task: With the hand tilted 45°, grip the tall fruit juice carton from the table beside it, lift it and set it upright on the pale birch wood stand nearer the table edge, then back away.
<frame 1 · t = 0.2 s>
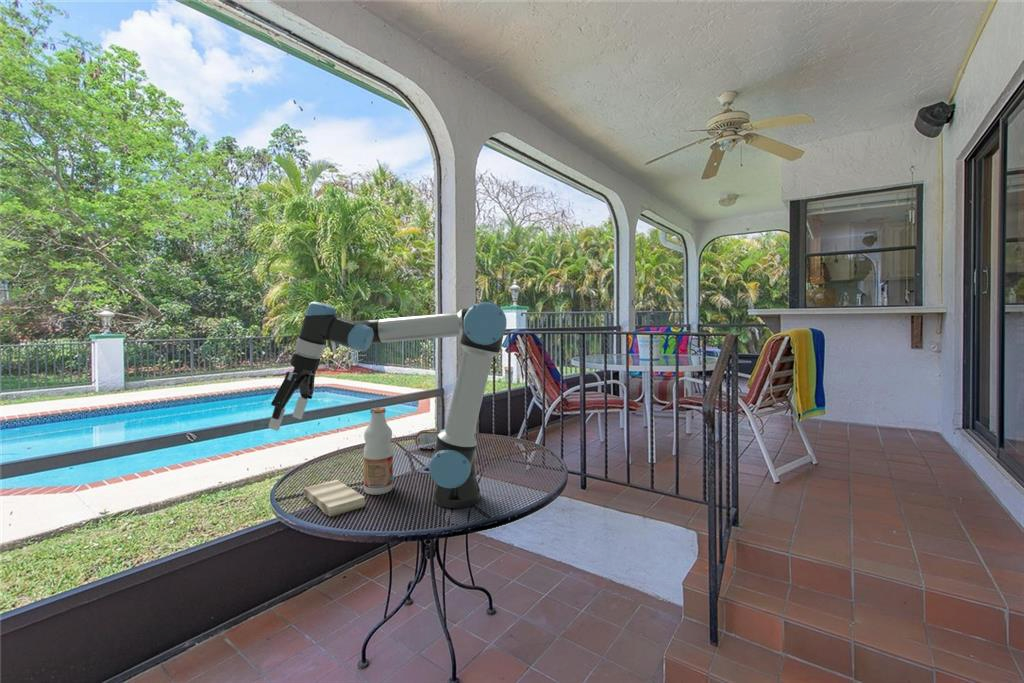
hand: (285, 423, 130), 28 cm above the table, tool tilted 20°, fingers open, 13 cm apart
birch stand: (333, 501, 142), on the table
tin: (432, 449, 199), on the table
fruit juice: (378, 490, 152), on the table
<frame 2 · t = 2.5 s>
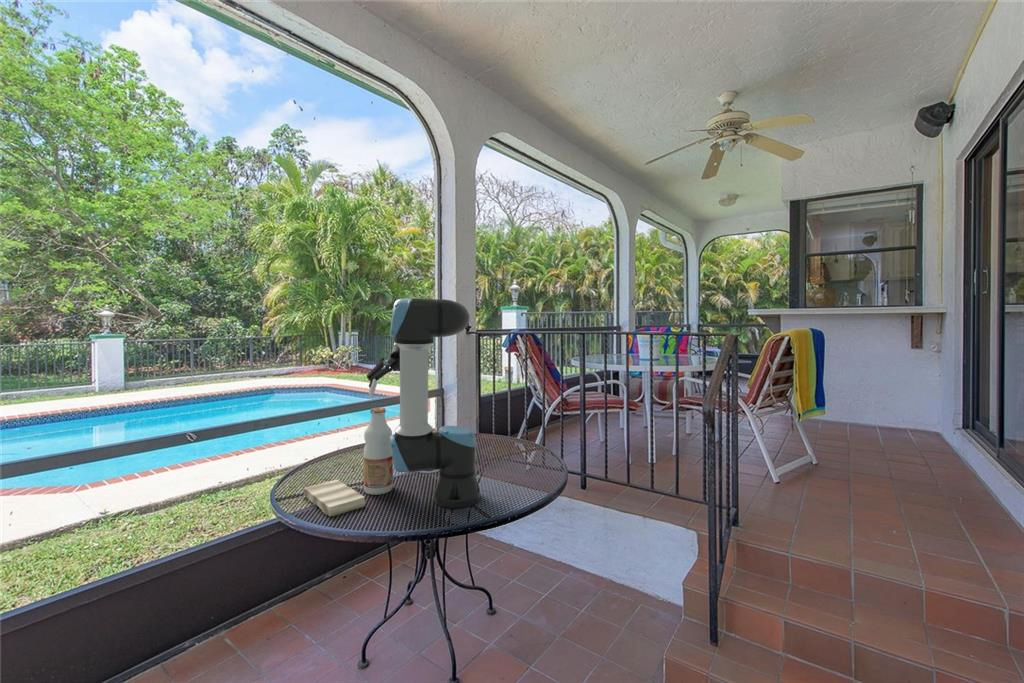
hand: (388, 396, 162), 30 cm above the table, tool tilted 45°, fingers open, 13 cm apart
nothing on the table moved.
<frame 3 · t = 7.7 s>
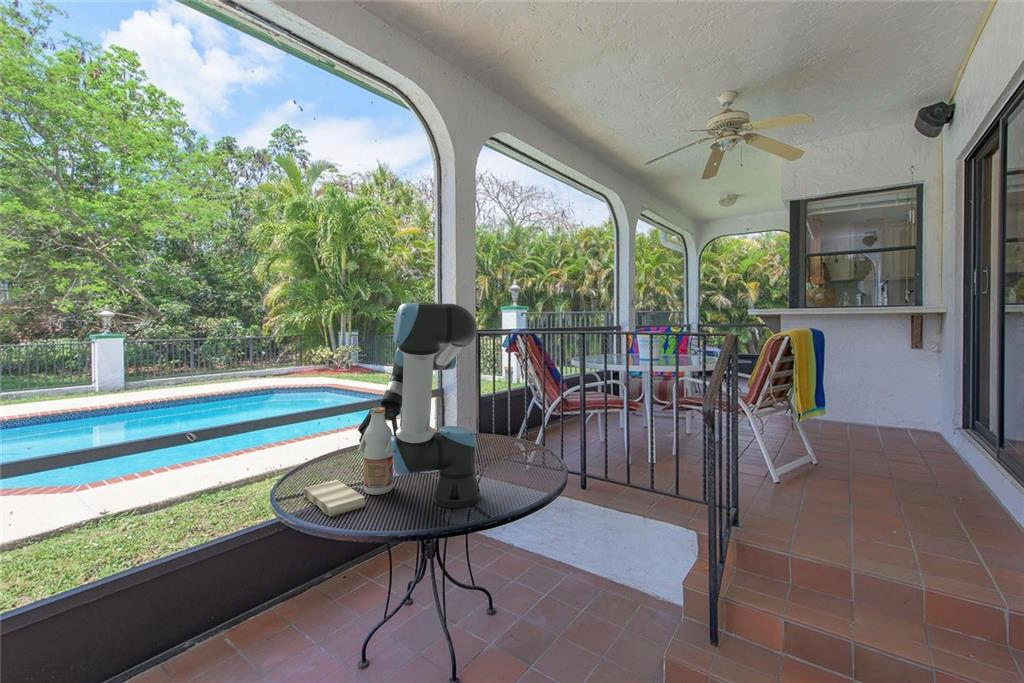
hand: (373, 452, 148), 14 cm above the table, tool tilted 45°, fingers closed on fruit juice, 9 cm apart
fruit juice: (378, 490, 152), on the table, touching gripper
everything else where it was.
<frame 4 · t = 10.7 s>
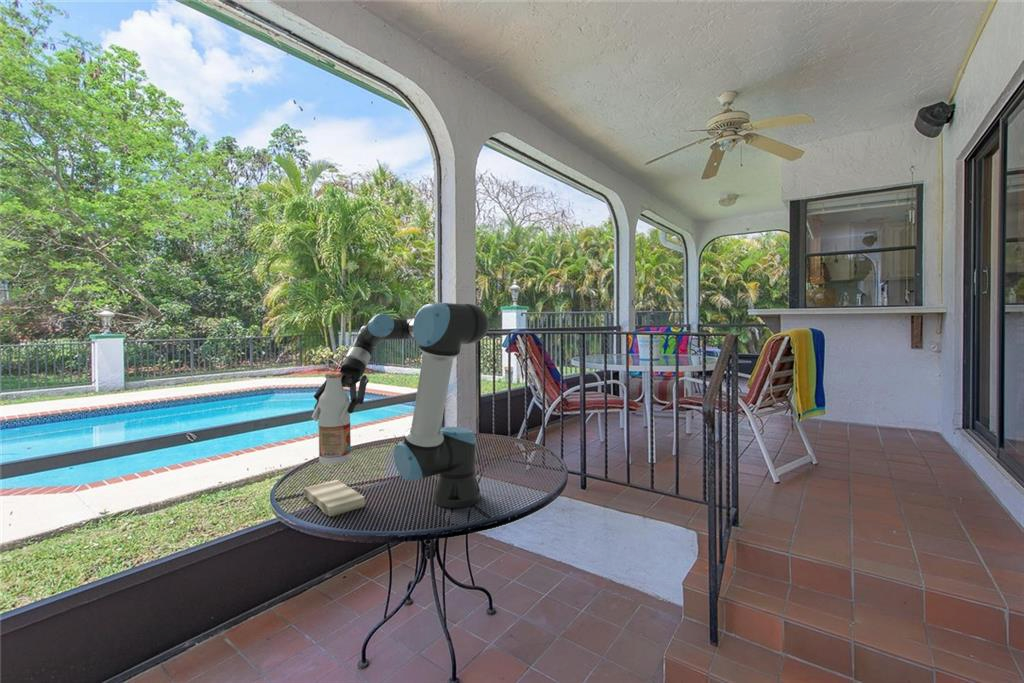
hand: (328, 420, 139), 27 cm above the table, tool tilted 45°, fingers closed on fruit juice, 9 cm apart
fruit juice: (335, 461, 143), point 13 cm above the table, touching gripper
everything else where it was.
when the fingers open (18 cm above the table, at t = 13.7 s): fruit juice drops 1 cm, resting on birch stand.
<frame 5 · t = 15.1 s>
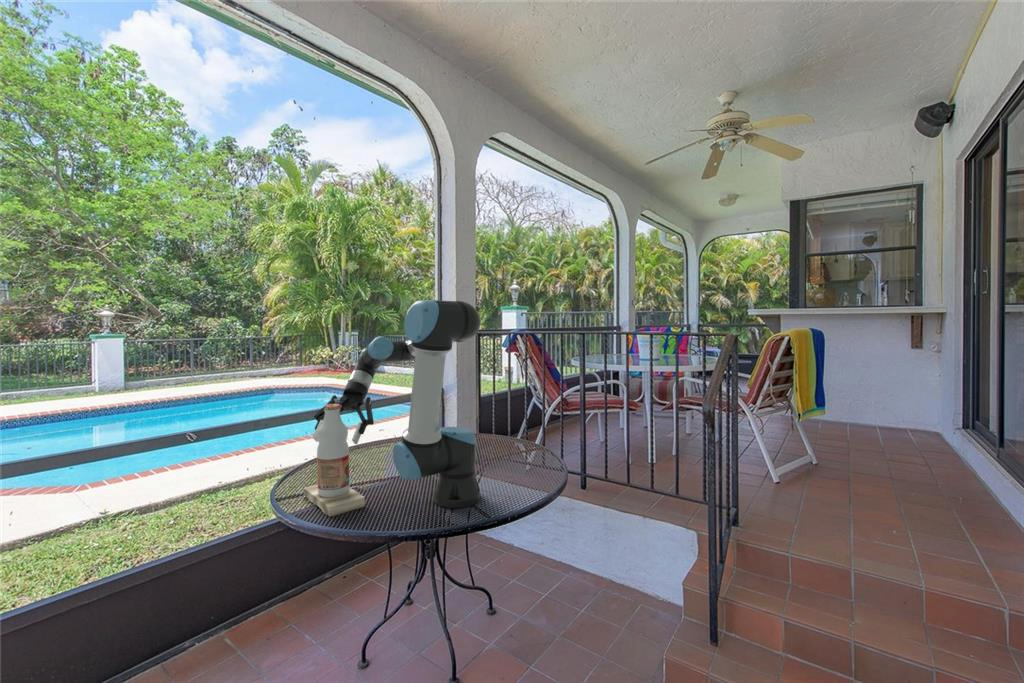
hand: (334, 441, 143), 19 cm above the table, tool tilted 45°, fingers open, 13 cm apart
fruit juice: (333, 492, 142), point 3 cm above the table, touching birch stand
everything else where it was.
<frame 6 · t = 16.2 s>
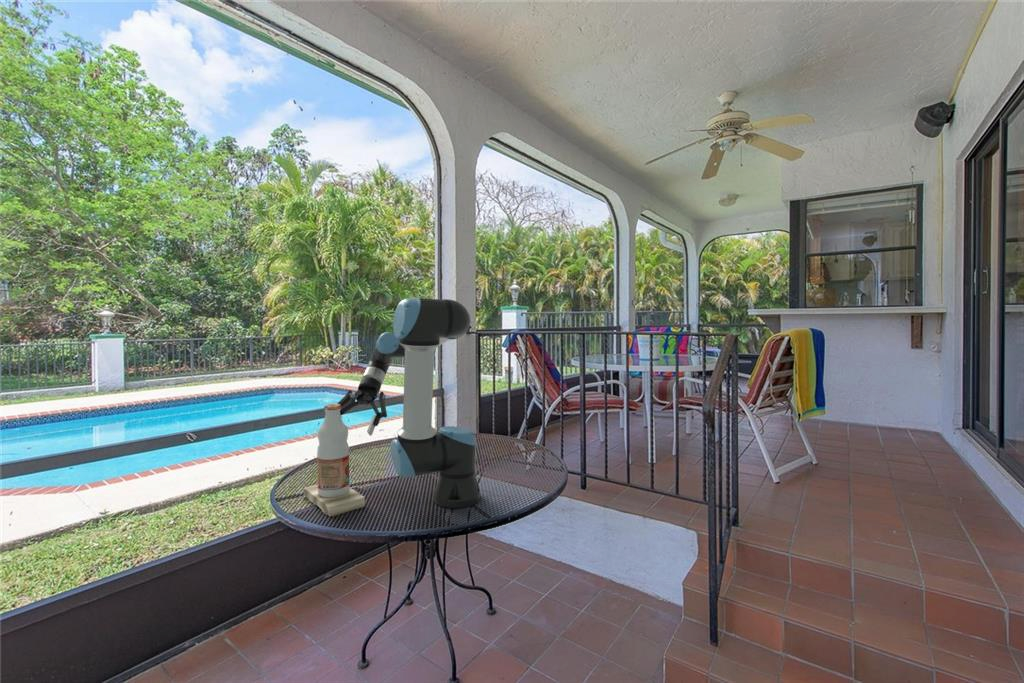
hand: (350, 432, 151), 20 cm above the table, tool tilted 45°, fingers open, 13 cm apart
nothing on the table moved.
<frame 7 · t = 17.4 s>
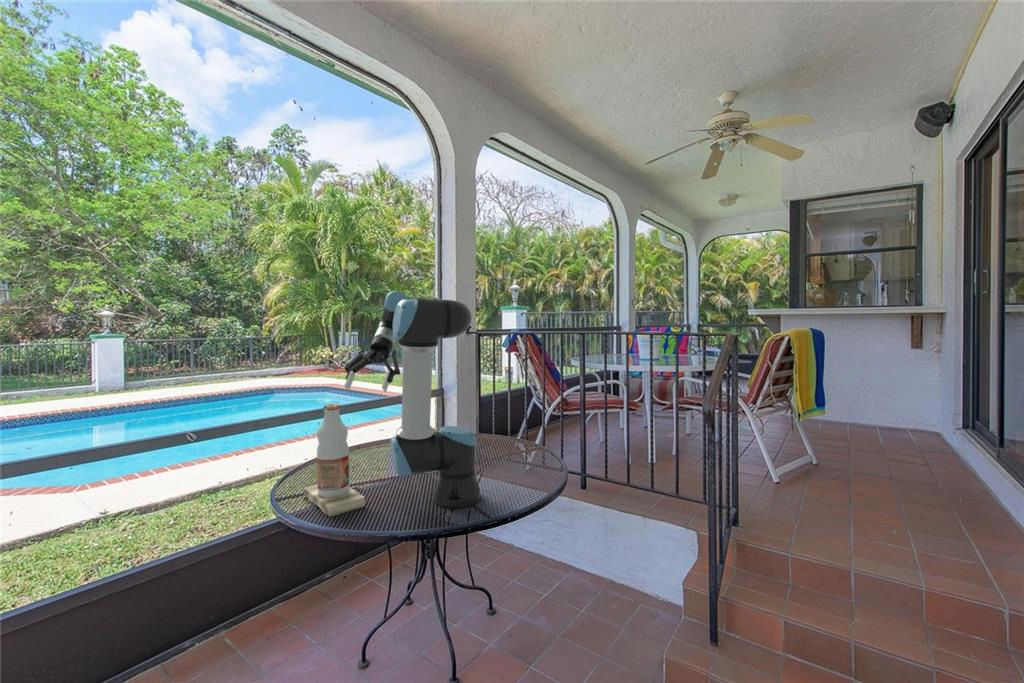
hand: (365, 388, 154), 34 cm above the table, tool tilted 45°, fingers open, 13 cm apart
nothing on the table moved.
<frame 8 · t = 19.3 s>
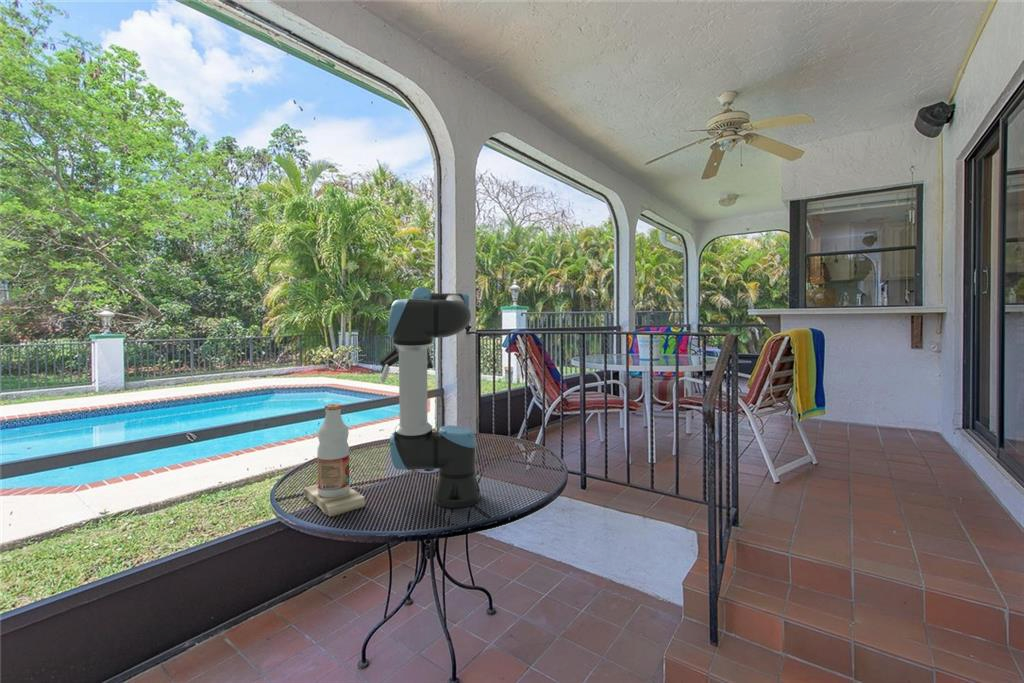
hand: (399, 381, 161), 36 cm above the table, tool tilted 45°, fingers open, 13 cm apart
nothing on the table moved.
at the end: fruit juice inside the target area on the birch stand (0.1 cm from its centre), point 2.8 cm above the birch stand's base; fruit juice tilted 0°; the gripper is holding nothing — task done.
